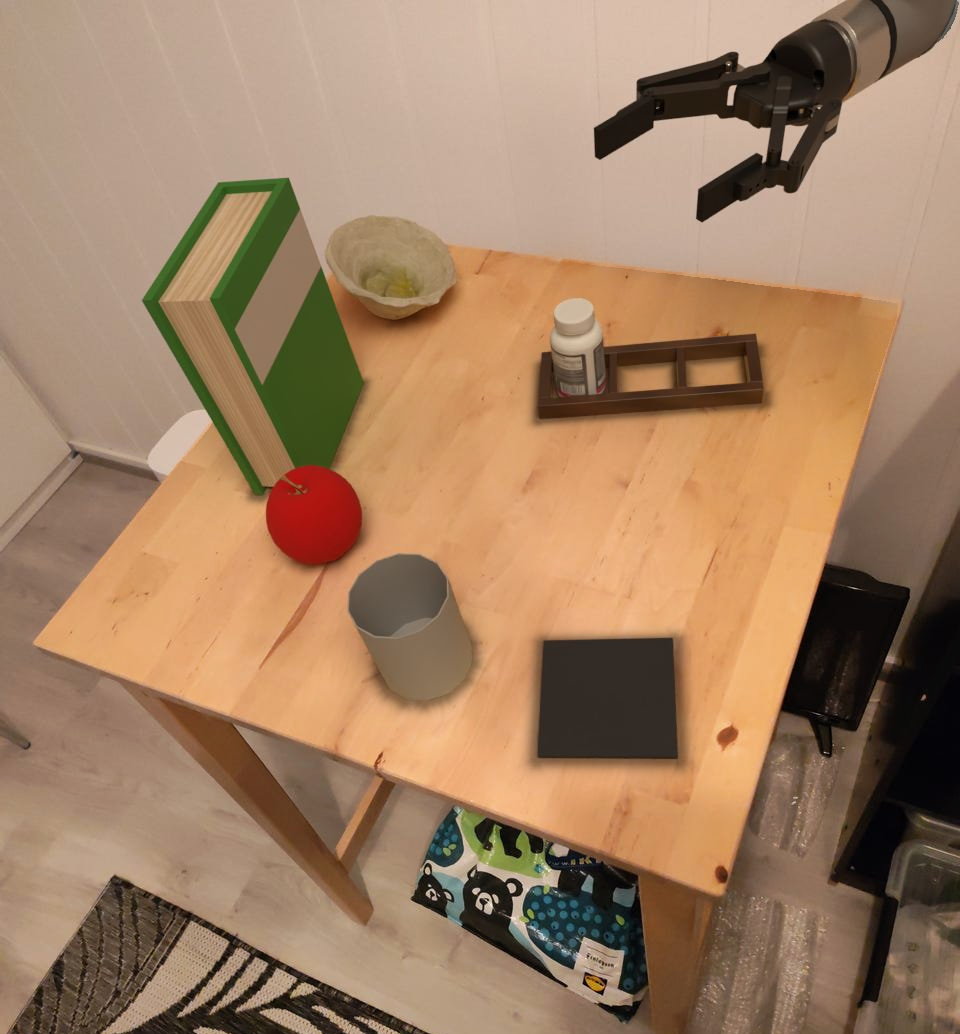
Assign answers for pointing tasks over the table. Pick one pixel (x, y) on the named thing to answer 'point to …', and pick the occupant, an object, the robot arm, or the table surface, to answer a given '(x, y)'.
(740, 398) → the bottle rack
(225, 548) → the table surface
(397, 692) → the cup
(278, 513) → the fruit
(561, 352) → the pill bottle
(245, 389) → the hardback book
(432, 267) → the bowl
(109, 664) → the table surface
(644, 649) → the mat
